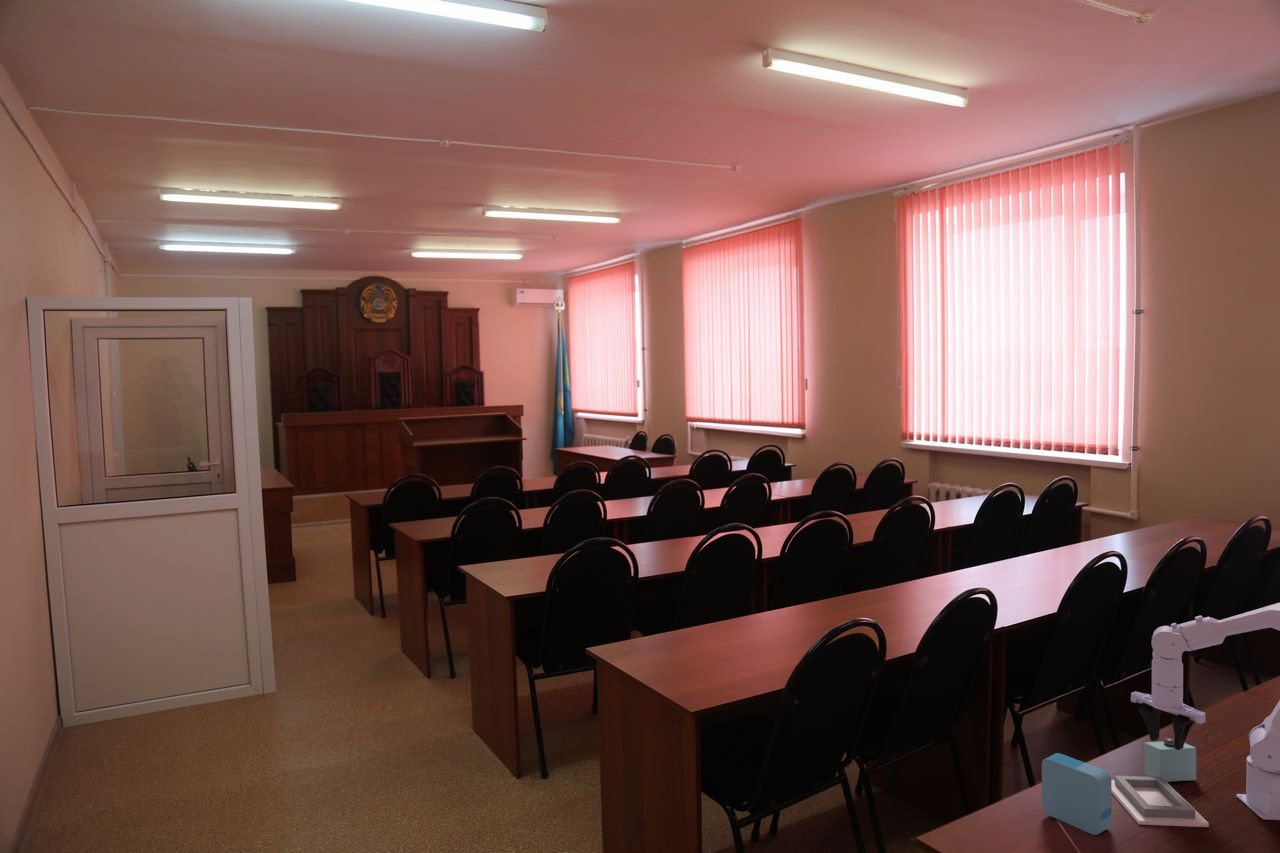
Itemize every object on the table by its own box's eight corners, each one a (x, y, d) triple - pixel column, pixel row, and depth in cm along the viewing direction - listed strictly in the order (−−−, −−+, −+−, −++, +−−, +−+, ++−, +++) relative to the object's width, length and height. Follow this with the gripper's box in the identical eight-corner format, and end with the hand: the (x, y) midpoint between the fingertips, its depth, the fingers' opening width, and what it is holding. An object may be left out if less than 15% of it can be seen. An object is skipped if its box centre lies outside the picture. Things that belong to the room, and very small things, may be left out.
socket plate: (1208, 827, 165) (1208, 814, 165) (1138, 824, 166) (1138, 812, 166) (1166, 785, 182) (1166, 774, 181) (1103, 783, 183) (1103, 772, 183)
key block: (1196, 779, 183) (1196, 742, 183) (1160, 782, 181) (1160, 744, 181) (1179, 772, 187) (1179, 735, 187) (1144, 774, 186) (1144, 737, 186)
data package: (1111, 831, 164) (1112, 772, 164) (1099, 838, 162) (1100, 778, 161) (1053, 805, 174) (1053, 750, 174) (1041, 812, 172) (1041, 756, 171)
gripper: (1213, 689, 175) (1212, 752, 176) (1143, 669, 188) (1143, 727, 189) (1195, 696, 172) (1194, 760, 173) (1125, 675, 185) (1125, 735, 185)
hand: (1166, 744), depth 181 cm, fingers open, 4 cm apart
